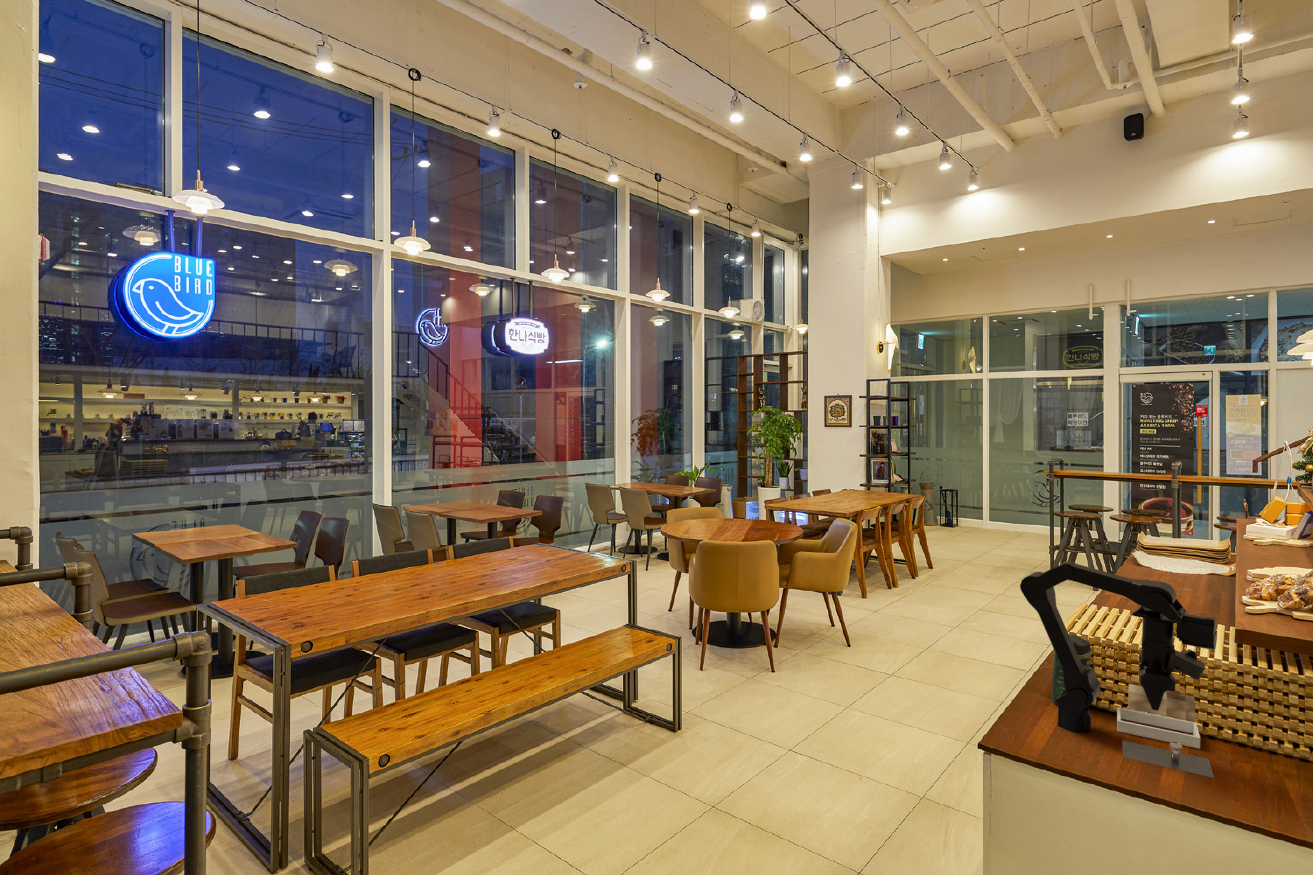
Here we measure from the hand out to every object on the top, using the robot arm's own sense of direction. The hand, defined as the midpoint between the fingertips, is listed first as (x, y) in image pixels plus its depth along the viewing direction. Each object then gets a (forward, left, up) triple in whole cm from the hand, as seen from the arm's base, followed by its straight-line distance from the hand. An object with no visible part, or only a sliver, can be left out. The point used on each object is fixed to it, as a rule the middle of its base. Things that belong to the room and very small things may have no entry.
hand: (1154, 705), depth 155 cm
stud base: (+2, -3, -11) cm, 12 cm away
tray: (+1, +11, -11) cm, 16 cm away
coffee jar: (-17, +20, -12) cm, 29 cm away
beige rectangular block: (+1, 0, -1) cm, 1 cm away
